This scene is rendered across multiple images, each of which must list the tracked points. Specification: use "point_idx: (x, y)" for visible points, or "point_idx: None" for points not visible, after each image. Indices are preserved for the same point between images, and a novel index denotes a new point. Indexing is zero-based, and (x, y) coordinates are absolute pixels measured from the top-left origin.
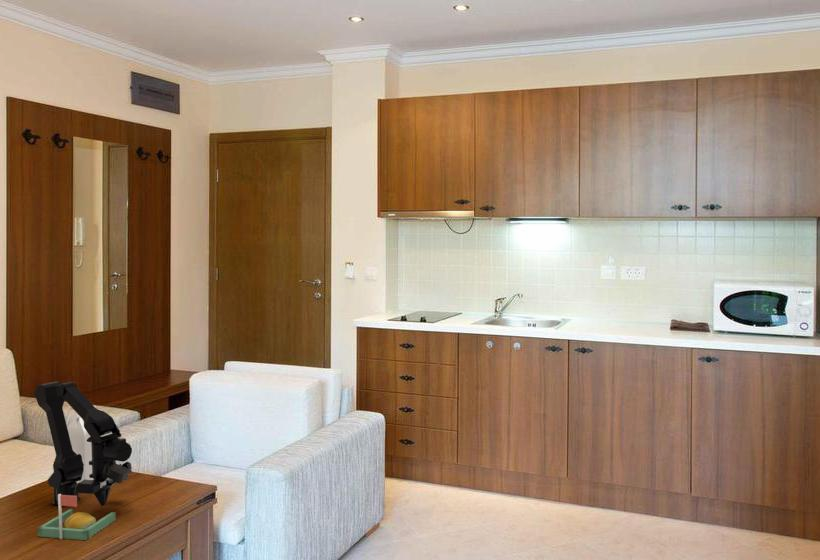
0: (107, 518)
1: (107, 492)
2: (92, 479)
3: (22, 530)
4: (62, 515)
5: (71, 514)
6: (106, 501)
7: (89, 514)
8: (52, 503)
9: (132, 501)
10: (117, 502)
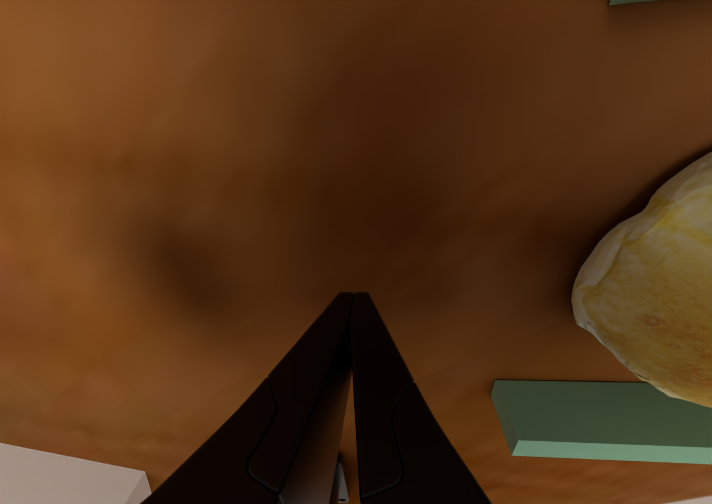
0: None
1: (301, 421)
2: (78, 501)
3: (667, 475)
4: (655, 447)
5: (528, 407)
6: (328, 310)
7: (692, 286)
8: (348, 498)
9: (53, 157)
10: (161, 271)
